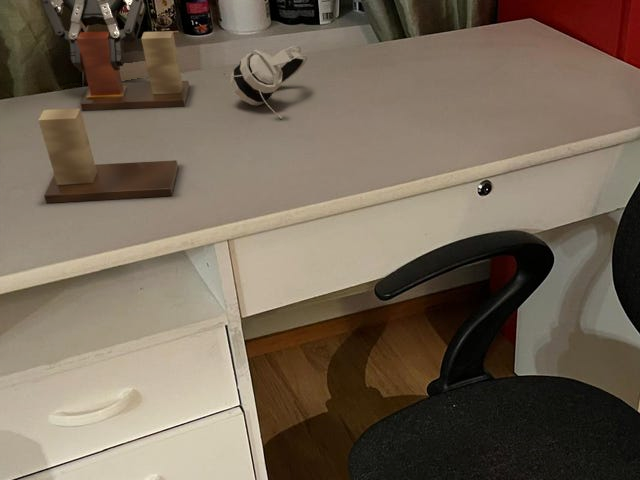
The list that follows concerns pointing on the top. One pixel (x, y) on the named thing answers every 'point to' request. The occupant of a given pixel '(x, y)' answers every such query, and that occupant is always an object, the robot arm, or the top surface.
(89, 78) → the tall red-orange pillar
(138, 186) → the cream block stand
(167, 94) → the upright block on base
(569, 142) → the top surface
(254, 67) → the headphones
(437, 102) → the top surface
